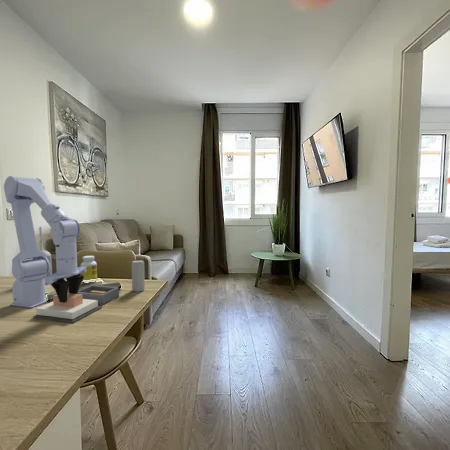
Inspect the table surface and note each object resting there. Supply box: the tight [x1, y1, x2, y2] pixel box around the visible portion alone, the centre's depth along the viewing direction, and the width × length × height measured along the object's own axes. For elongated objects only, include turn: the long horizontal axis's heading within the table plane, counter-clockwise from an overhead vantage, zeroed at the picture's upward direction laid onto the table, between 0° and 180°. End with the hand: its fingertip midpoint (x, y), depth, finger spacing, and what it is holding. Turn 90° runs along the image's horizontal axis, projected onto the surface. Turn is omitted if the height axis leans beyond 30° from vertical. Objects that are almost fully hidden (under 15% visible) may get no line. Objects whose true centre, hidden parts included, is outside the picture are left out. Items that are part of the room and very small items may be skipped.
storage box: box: [78, 284, 120, 306], centre depth 99 cm, size 12×9×4 cm
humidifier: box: [32, 226, 53, 286], centre depth 119 cm, size 8×8×25 cm
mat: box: [32, 305, 103, 324], centre depth 87 cm, size 15×12×1 cm
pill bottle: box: [80, 255, 98, 281], centre depth 121 cm, size 6×6×12 cm
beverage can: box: [131, 259, 146, 293], centre depth 109 cm, size 5×5×12 cm
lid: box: [35, 292, 99, 319], centre depth 86 cm, size 14×11×5 cm
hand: (68, 299), depth 86 cm, fingers closed on lid, 3 cm apart
